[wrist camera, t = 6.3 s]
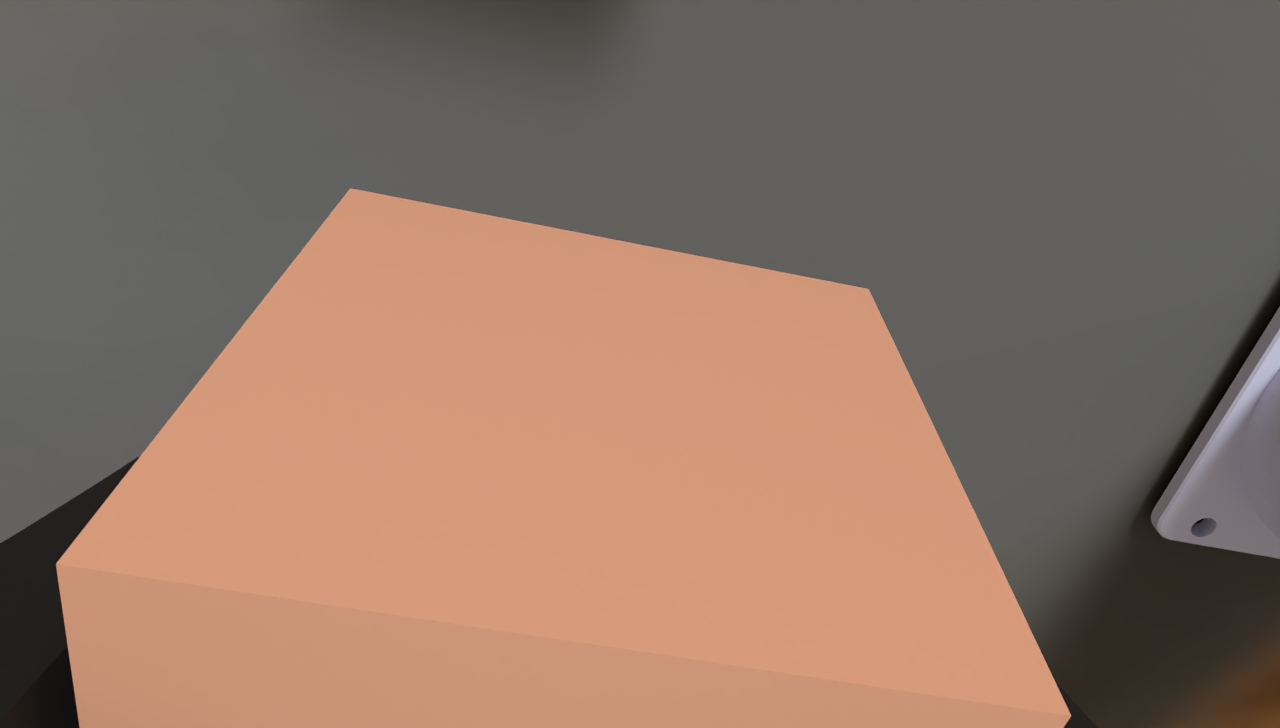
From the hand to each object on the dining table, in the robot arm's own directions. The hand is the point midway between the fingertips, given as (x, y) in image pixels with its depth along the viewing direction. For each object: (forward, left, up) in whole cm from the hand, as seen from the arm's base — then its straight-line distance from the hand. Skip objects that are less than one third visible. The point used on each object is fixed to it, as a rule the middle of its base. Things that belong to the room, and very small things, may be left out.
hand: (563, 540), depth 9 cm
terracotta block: (0, 0, -2) cm, 2 cm away
